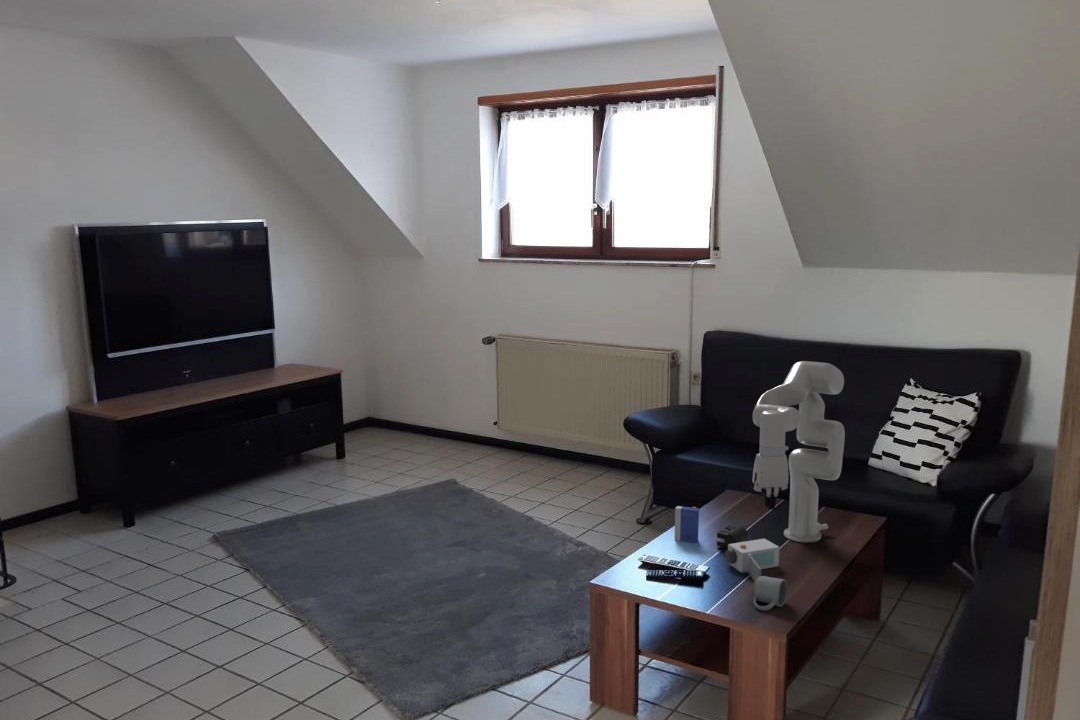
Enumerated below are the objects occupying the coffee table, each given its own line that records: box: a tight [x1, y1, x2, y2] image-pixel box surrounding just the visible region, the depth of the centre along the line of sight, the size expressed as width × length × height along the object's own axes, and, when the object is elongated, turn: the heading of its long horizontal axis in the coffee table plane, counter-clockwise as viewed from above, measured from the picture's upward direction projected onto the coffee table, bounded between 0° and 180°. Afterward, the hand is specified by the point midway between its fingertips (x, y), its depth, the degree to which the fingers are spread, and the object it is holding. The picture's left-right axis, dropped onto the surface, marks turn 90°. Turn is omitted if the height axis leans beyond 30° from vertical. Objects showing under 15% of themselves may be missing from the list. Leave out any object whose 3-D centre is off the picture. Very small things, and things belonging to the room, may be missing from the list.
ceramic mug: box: [752, 575, 788, 612], centre depth 248 cm, size 11×8×8 cm
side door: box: [746, 554, 762, 582], centre depth 265 cm, size 12×1×6 cm, turn 3°
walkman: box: [674, 505, 700, 544], centre depth 298 cm, size 8×3×12 cm, turn 68°
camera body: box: [724, 538, 780, 573], centre depth 276 cm, size 16×8×7 cm, turn 111°
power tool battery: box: [716, 525, 749, 553], centre depth 291 cm, size 10×7×7 cm
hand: (769, 507), depth 266 cm, fingers closed
